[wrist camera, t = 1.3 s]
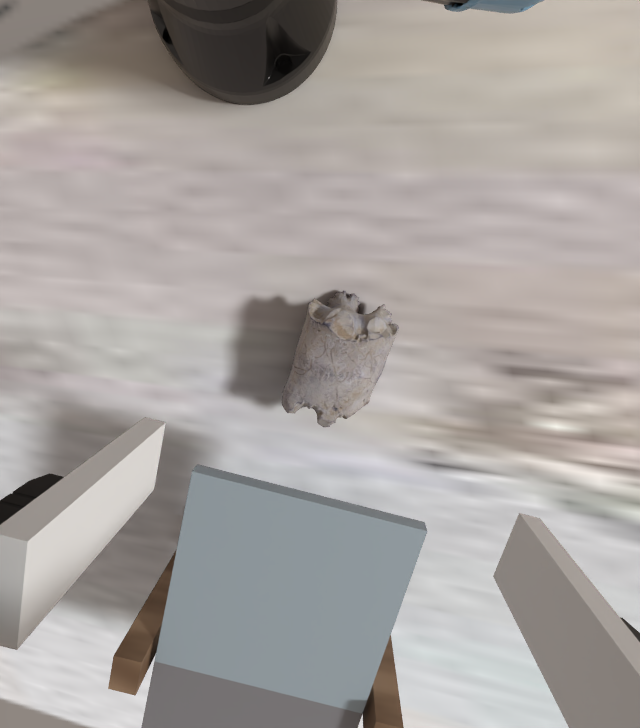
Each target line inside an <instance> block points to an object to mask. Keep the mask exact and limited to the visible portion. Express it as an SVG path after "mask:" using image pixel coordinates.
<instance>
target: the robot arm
mask: <svg viewBox="0 0 640 728" xmlns="http://www.w3.org/2000/svg"><path fill="white" fill-rule="evenodd" d="M423 1H428V2H433V3H438V4H444V6H445V9H447V10H450V11H456V12H460V11H464V10H467V9H477V10H485V11H492V12H500V13H517V12H522V11H525V10H527V9H529V8H531V7H532V6H534V5H535V4H537V3H539V2H542V1H544V0H423ZM148 2H149V6H150V11H151V14H152V17H153V21H154V23H155V26H156V29H157V31H158V33H159V36H160V38H161V40H162V42H163V43H164V45H165V47H166V49H167V50H168V52H169V53H170V55H171V56H172V58H173V59H174V60H175V61H176V63H177V64H178V65H179V67H180V68H181V69H182V70H183V72H184V73H185V74H186V75H187V76H188V77H189V78H190V79H191V80H192V81H193V82H194V83H195V84H196V85H197V86H199V87H200V88H201V89H203V90H204V91H206V92H207V93H209V94H211V95H213V96H215V97H217V98H219V99H222V100H225V101H228V102H232V103H237V104H260V103H265V102H269V101H273V100H275V99H278V98H280V97H282V96H284V95H286V94H288V93H290V92H291V91H293V90H294V89H296V88H297V87H298V86H299V85H301V84H302V83H303V82H304V81H305V80H306V79H307V78H308V77H309V76H310V75H311V74H312V72H313V71H314V70H315V68H316V67H317V66H318V64H319V63H320V61H321V59H322V58H323V56H324V54H325V52H326V50H327V47H328V45H329V43H330V40H331V37H332V33H333V30H334V25H335V20H336V13H337V0H148ZM165 424H166V422H162V421H158V420H154V419H150V418H146V417H145V418H143V419H142V420H141V421H139V422H138V423H137V424H135V425H134V426H133V427H131V428H130V429H129V430H127V431H126V432H124V433H123V434H122V435H120V436H119V437H118V438H116V439H115V440H114V441H112V442H111V443H110V444H108V445H107V446H106V447H104V448H103V449H102V450H100V451H99V452H98V453H96V454H95V455H94V456H92V457H91V458H89V459H88V460H87V461H85V462H84V463H83V464H81V465H80V466H79V467H77V468H76V469H75V470H73V471H72V472H71V473H69V474H68V475H67V476H65V477H62V476H58V475H54V474H47V475H45V476H42V477H39V478H36V479H33V480H30V481H28V482H27V483H25V484H24V485H22V486H21V487H19V488H18V489H16V490H15V491H14V492H13V494H9V495H8V496H6V497H5V498H3V499H2V500H0V646H3V647H7V648H11V649H15V650H17V649H18V648H19V647H20V646H21V644H22V643H23V642H24V641H25V640H26V639H27V637H28V636H29V635H30V634H31V633H32V632H33V630H34V629H35V628H36V627H37V626H38V625H39V623H40V622H41V621H42V620H43V619H44V618H45V616H46V615H47V614H48V613H49V612H50V611H51V609H52V608H53V607H54V606H55V605H56V604H57V602H58V601H59V600H60V599H61V598H62V597H63V595H64V594H65V593H66V592H67V591H68V590H69V588H70V587H71V586H72V585H73V584H74V583H75V581H76V580H77V579H78V578H79V577H80V576H81V574H82V573H83V572H84V571H85V570H86V569H87V567H88V566H89V565H90V564H91V563H92V562H93V560H94V559H95V558H96V557H97V556H98V555H99V553H100V552H101V551H102V550H103V549H104V548H105V546H106V545H107V544H108V543H109V542H110V541H111V539H112V538H113V537H114V536H115V535H116V534H117V532H118V531H119V530H120V529H121V528H122V527H123V525H124V524H125V523H126V522H127V521H128V520H129V518H130V517H131V516H132V515H133V514H134V513H135V511H136V510H137V509H138V508H139V507H140V506H141V504H142V503H143V502H144V501H145V500H146V499H147V497H148V496H149V495H150V494H151V493H152V492H153V490H154V487H155V481H156V475H157V470H158V464H159V458H160V453H161V447H162V441H163V436H164V430H165ZM493 577H494V579H495V581H496V583H497V585H498V587H499V589H500V591H501V593H502V595H503V597H504V599H505V601H506V603H507V605H508V607H509V609H510V611H511V613H512V615H513V617H514V619H515V621H516V623H517V625H518V627H519V629H520V631H521V633H522V635H523V637H524V639H525V641H526V643H527V645H528V647H529V649H530V651H531V653H532V655H533V657H534V659H535V661H536V663H537V665H538V667H539V669H540V671H541V673H542V675H543V677H544V679H545V681H546V683H547V685H548V687H549V689H550V691H551V693H552V695H553V697H554V698H555V700H556V702H557V704H558V706H559V708H560V710H561V712H562V714H563V716H564V718H565V720H566V722H567V724H568V726H569V728H640V633H639V632H638V631H637V630H636V629H635V628H633V627H632V626H631V625H630V624H629V623H628V622H627V621H625V620H624V619H623V618H620V617H619V616H618V615H617V613H616V612H615V611H614V610H613V608H612V607H611V606H610V605H609V603H608V602H607V601H606V600H605V599H604V597H603V596H602V595H601V594H600V592H599V591H598V590H597V589H596V587H595V586H594V585H593V584H592V582H591V581H590V580H589V579H588V577H587V576H586V575H585V574H584V573H583V571H582V570H581V569H580V568H579V566H578V565H577V564H576V563H575V561H574V560H573V559H572V558H571V556H570V555H569V554H568V553H567V551H566V550H565V549H564V548H563V547H562V545H561V544H560V543H559V542H558V540H557V539H556V538H555V537H554V535H553V534H552V533H551V532H550V530H549V529H548V528H547V527H546V525H545V524H544V523H543V522H542V521H541V519H540V518H536V517H533V516H529V515H525V514H521V513H519V515H518V517H517V520H516V522H515V525H514V527H513V530H512V532H511V534H510V537H509V539H508V542H507V544H506V547H505V549H504V551H503V554H502V556H501V559H500V561H499V564H498V566H497V568H496V571H495V573H494V576H493Z"/></svg>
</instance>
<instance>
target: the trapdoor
mask: <svg viewBox="0 0 640 728" xmlns="http://www.w3.org/2000/svg"><path fill="white" fill-rule="evenodd" d="M426 534H427V529H426V526H425V523H424V522H421V521H418V520H414V519H410V518H406V517H402V516H398V515H394V514H390V513H386V512H382V511H378V510H374V509H370V508H367V507H363V506H359V505H355V504H351V503H347V502H343V501H339V500H335V499H331V498H327V497H323V496H320V495H316V494H312V493H308V492H304V491H300V490H296V489H292V488H288V487H284V486H280V485H276V484H272V483H269V482H265V481H261V480H257V479H253V478H249V477H245V476H241V475H237V474H233V473H229V472H225V471H222V470H218V469H214V468H210V467H206V466H202V465H198V464H197V466H196V467H195V468H194V470H193V471H192V475H191V480H190V485H189V490H188V495H187V500H186V505H185V510H184V515H183V520H182V525H181V530H180V535H179V541H178V546H177V551H176V556H175V561H174V566H173V571H172V576H171V581H170V586H169V591H168V596H167V601H166V606H165V611H164V616H163V622H162V627H161V632H160V637H159V642H158V647H157V652H156V657H155V662H154V667H153V672H152V677H151V682H150V687H149V692H148V697H147V702H146V708H145V713H144V718H143V723H142V728H358V725H359V722H360V719H361V716H362V713H363V711H364V708H365V705H366V702H367V699H368V697H369V694H370V691H371V688H372V685H373V683H374V680H375V677H376V674H377V671H378V668H379V666H380V663H381V660H382V657H383V654H384V652H385V649H386V646H387V643H388V640H389V638H390V635H391V632H392V629H393V626H394V623H395V621H396V618H397V615H398V612H399V609H400V607H401V604H402V601H403V598H404V595H405V593H406V590H407V587H408V584H409V581H410V579H411V576H412V573H413V570H414V567H415V564H416V562H417V559H418V556H419V553H420V550H421V548H422V545H423V542H424V539H425V536H426Z"/></svg>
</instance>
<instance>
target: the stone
mask: <svg viewBox="0 0 640 728" xmlns="http://www.w3.org/2000/svg"><path fill="white" fill-rule="evenodd" d="M327 303H328V306H325V305H324V304H322V303H321V302H319V301H318V300H317V299H315V298H314V300H313V301H312V302H310V303H309V305H308V309H307V314H306V319H305V323H304V326H303V328H302V332H301V335H300V338H299V341H298V344H297V347H296V351H295V356H294V361H293V365H292V369H291V372H290V375H289V378H288V380H287V383H286V385H285V387H284V391H283V396H282V405H283V407H284V409H285V410H286V412H287V413H295V412H296V411H297V410H299V409H300V408H302V407H308V409H310V408H313V409H314V410H315V411H316V413H317V420H318V421H317V422H318V424H320V425H321V426H323V427H330V425H331V424H333V423H335V422H336V418H338V417H343V418H344V419H347V418H349V417H350V416H352V415H353V414H355V412H357V411H358V410H359V409H361V408H362V407H363V406H365V405H366V404H368V402H369V400H370V396H371V394H372V391H373V389H374V387H375V385H376V383H377V381H378V379H379V377H380V375H381V373H382V371H383V368H384V365H385V362H386V359H387V356H388V354H389V352H390V349H391V347H392V344H393V342H394V339H395V336H396V334H397V331H398V329H399V327H398V325H396V324H391V322H392V320H391V319H390V317H391V315H392V314H391V313H390V312H389V311H388V310H386V309H385V305H384V304H383V305H382V306H380V307H378V308H377V310H375V311H373V312H372V313H370V314H365V315H361V314H358V311H359V309H360V308H359V307H358V306H359V305H360V302H359V301H358V297H357V296H356V295H355V294H350V296H348V297H347V296H346V291H343V292H338V293H336V294H335V297H334V298H330V299H329V300H328V302H327Z"/></svg>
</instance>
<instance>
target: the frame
mask: <svg viewBox="0 0 640 728" xmlns="http://www.w3.org/2000/svg"><path fill="white" fill-rule="evenodd" d="M176 551H177V550H176ZM176 551H175V553H174V555H173V557H172V558H171V560H170V562H169V563H168V565H167V567H166V568H165V570H164V572H163V573H162V575H161V577H160V578H159V580H158V582H157V584H156V585H155V587H154V589H153V590H152V592H151V594H150V595H149V597H148V599H147V600H146V602H145V604H144V606H143V607H142V609H141V611H140V612H139V614H138V616H137V617H136V619H135V621H134V622H133V624H132V626H131V628H130V629H129V631H128V633H127V634H126V636H125V638H124V639H123V641H122V643H121V644H120V646H119V648H118V649H117V651H116V653H115V655H114V657H113V663H112V669H111V675H110V681H109V687H108V689H112V690H116V691H120V692H124V693H128V694H132V695H136V693H137V691H138V689H139V687H140V685H141V683H142V681H143V679H144V677H145V674H146V672H147V670H148V668H149V666H150V664H151V662H152V660H153V658H154V656H155V654H156V652H157V647H158V642H159V637H160V632H161V627H162V622H163V616H164V611H165V606H166V601H167V596H168V591H169V586H170V581H171V576H172V571H173V566H174V561H175V556H176ZM363 728H403V721H402V713H401V706H400V699H399V692H398V684H397V677H396V670H395V663H394V656H393V648H392V641H391V635H390V638H389V640H388V643H387V646H386V649H385V652H384V654H383V657H382V660H381V663H380V666H379V668H378V671H377V674H376V677H375V680H374V683H373V685H372V688H371V691H370V694H369V697H368V699H367V702H366V705H365V708H364V711H363Z"/></svg>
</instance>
